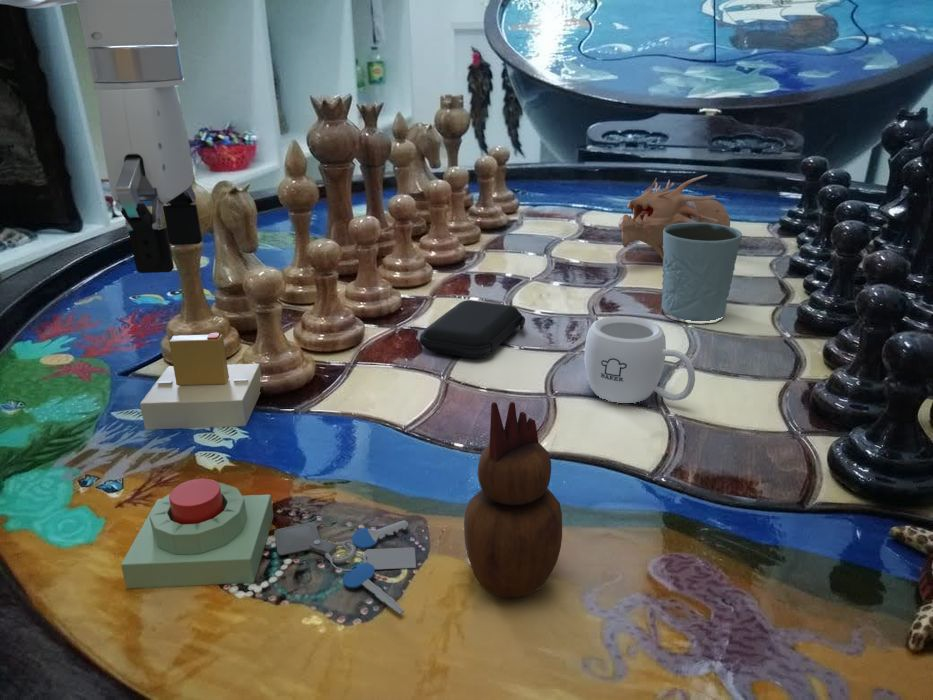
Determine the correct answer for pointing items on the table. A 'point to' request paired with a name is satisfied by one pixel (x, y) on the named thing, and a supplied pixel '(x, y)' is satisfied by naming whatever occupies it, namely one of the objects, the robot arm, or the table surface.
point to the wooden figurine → (513, 510)
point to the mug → (629, 360)
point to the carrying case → (472, 329)
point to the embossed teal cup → (698, 269)
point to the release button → (196, 501)
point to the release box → (200, 545)
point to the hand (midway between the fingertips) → (172, 256)
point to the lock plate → (202, 401)
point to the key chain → (352, 554)
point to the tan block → (199, 359)
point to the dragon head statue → (668, 214)
